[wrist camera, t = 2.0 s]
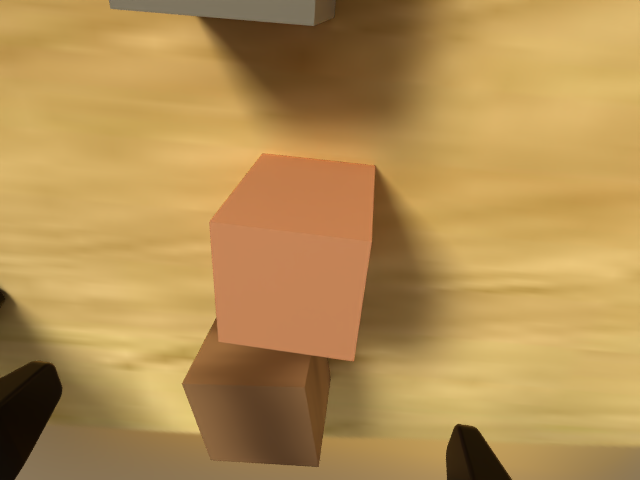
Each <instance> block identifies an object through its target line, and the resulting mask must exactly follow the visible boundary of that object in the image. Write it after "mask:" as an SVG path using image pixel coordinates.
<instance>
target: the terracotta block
mask: <svg viewBox="0 0 640 480" xmlns="http://www.w3.org/2000/svg"><path fill="white" fill-rule="evenodd" d="M374 183H375V165H366V164H356V163H347V162H338V161H329V160H319V159H310V158H301V157H292V156H282V155H273V154H264V153H262V155H261V156H260V157H259V159H258V160H257V161H256V162H255V164H254V165H253V166H252V168H251V169H250V170H249V171H248V173H247V174H246V175H245V177H244V178H243V179H242V180H241V182H240V183H239V184H238V186H237V187H236V188H235V189H234V191H233V192H232V193H231V195H230V196H229V197H228V198H227V200H226V201H225V202H224V204H223V205H222V206H221V207H220V209H219V210H218V211H217V213H216V214H215V215H214V216H213V218H212V219H211V220H210V222H209V224H210V237H211V250H212V263H213V276H214V289H215V303H216V316H217V329H218V342H224V343H231V344H237V345H244V346H251V347H258V348H265V349H272V350H279V351H286V352H292V353H299V354H306V355H313V356H320V357H327V358H334V359H341V360H347V361H354V357H355V350H356V344H357V337H358V330H359V324H360V317H361V310H362V304H363V297H364V290H365V284H366V277H367V270H368V264H369V257H370V250H371V244H372V226H373V204H374Z"/></svg>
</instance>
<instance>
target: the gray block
mask: <svg viewBox="0 0 640 480" xmlns="http://www.w3.org/2000/svg"><path fill="white" fill-rule="evenodd" d="M109 3H110V9H119V10H131V11H143V12H155V13H167V14H178V15H190V16H202V17H214V18H226V19H237V20H249V21H261V22H273V23H285V24H296V25H308V26H315V25H317V24H320V23H322V22H325V21H327V20H329V19H332V18H334V17H335V4H336V0H109Z"/></svg>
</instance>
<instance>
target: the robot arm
mask: <svg viewBox="0 0 640 480" xmlns="http://www.w3.org/2000/svg"><path fill="white" fill-rule="evenodd" d="M4 301H5V298H4V296H3V294H2V293H1V292H0V307H1V306H2V304H3V303H4ZM61 394H62V385H61V382H60V379H59V376H58V373H57V370H56V368H55V366H54V365H53V364H52V363H49V362H43V361H33V362H30V363H28V364H26V365H24V366H23V367H21V368H19V369H17V370H15V371H13V372H11V373H10V374H8V375H6V376H4V377H2V378H0V480H15V478H16V477H17V475H18V474H19V472H20V470H21V469H22V467H23V466H24V464H25V462H26V461H27V459H28V457H29V455H30V453H31V452H32V450H33V448H34V446H35V444H36V442H37V440H38V439H39V437H40V435H41V433H42V431H43V429H44V427H45V426H46V424H47V422H48V420H49V418H50V416H51V414H52V412H53V411H54V409H55V407H56V405H57V403H58V401H59V399H60V397H61ZM446 467H447V480H512V479H511V478H510V476H509V475H508V473H507V472H506V470H505V469H504V467H503V466H502V464H501V463H500V461H499V460H498V458H497V457H496V455H495V454H494V453H493V451H492V450H491V448H490V446H489V445H488V444H487V442H486V441H485V439H484V438H483V436H482V435H481V433H480V432H479V430H478V429H477V428H475V427H474V426H468V425H462V424H457V425H456V426H455V427H454V429H453V432H452V435H451V438H450V440H449V443H448V446H447V451H446Z"/></svg>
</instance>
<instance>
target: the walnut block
mask: <svg viewBox="0 0 640 480" xmlns="http://www.w3.org/2000/svg"><path fill="white" fill-rule="evenodd" d="M330 380H331V379H330V371H329V364H328V358H327V357H320V356H313V355H306V354H299V353H292V352H286V351H279V350H272V349H265V348H258V347H251V346H244V345H237V344H231V343H224V342H218V329H217V317H216V319H215V321H214V323H213V325H212V327H211V329H210V331H209V333H208V335H207V337H206V339H205V340H204V342H203V344H202V346H201V348H200V350H199V352H198V354H197V356H196V358H195V360H194V362H193V364H192V365H191V367H190V369H189V371H188V373H187V375H186V377H185V379H184V381H183V383H182V385H183V388H184V390H185V393H186V396H187V398H188V401H189V403H190V406H191V409H192V411H193V414H194V417H195V419H196V422H197V425H198V427H199V430H200V433H201V435H202V438H203V440H204V443H205V446H206V448H207V451H208V453H209V456H210V459H211V460H216V461H231V462H247V463H248V462H249V463H264V464H281V465H296V466H312V467H319V460H320V453H321V445H322V438H323V431H324V423H325V416H326V409H327V402H328V394H329V387H330Z"/></svg>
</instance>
